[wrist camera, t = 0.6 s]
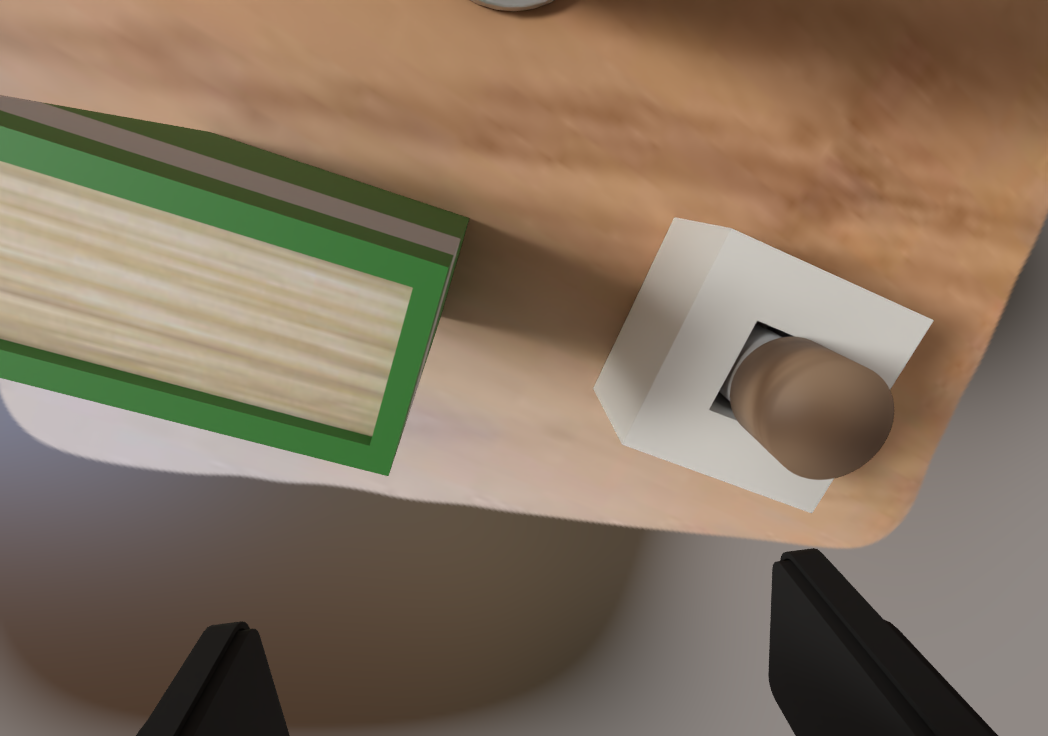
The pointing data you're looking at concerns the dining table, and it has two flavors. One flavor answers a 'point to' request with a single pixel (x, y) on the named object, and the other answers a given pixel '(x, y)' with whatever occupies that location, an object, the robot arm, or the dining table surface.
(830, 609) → the robot arm
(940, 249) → the dining table surface
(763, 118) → the dining table surface
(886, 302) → the housing
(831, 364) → the brown rounded piece
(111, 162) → the hardback book
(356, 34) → the dining table surface
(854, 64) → the dining table surface
